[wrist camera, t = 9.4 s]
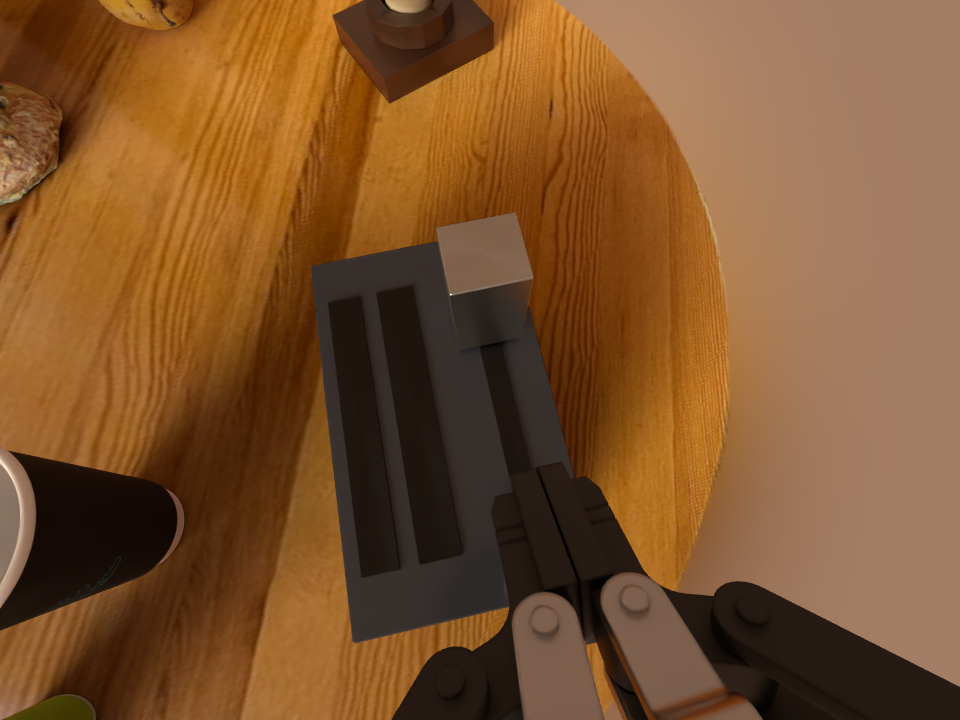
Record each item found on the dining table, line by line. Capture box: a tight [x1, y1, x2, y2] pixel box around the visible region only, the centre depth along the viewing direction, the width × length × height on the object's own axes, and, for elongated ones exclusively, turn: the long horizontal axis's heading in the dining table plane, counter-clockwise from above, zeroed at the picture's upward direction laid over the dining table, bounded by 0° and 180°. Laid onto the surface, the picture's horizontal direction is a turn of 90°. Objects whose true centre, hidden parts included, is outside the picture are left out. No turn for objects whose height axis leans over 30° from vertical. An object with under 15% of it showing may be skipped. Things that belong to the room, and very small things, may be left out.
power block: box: [333, 0, 494, 103], centre depth 35 cm, size 10×8×4 cm
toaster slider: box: [435, 213, 534, 350], centre depth 16 cm, size 2×3×5 cm
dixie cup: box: [0, 446, 184, 630], centre depth 21 cm, size 8×8×11 cm
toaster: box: [311, 241, 575, 643], centre depth 23 cm, size 15×9×10 cm, turn 12°
